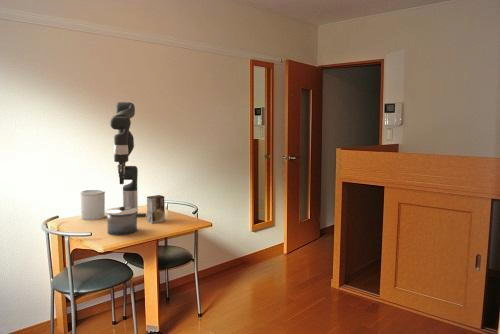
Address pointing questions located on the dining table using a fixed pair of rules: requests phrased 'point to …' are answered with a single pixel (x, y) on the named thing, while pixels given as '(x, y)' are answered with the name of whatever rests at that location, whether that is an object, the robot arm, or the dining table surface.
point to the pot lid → (122, 211)
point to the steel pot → (123, 223)
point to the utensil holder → (92, 204)
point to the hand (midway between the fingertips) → (121, 184)
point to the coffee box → (155, 209)
